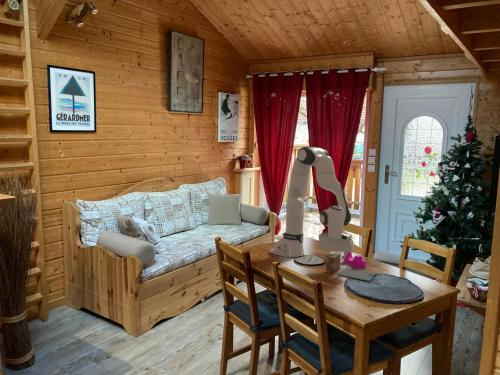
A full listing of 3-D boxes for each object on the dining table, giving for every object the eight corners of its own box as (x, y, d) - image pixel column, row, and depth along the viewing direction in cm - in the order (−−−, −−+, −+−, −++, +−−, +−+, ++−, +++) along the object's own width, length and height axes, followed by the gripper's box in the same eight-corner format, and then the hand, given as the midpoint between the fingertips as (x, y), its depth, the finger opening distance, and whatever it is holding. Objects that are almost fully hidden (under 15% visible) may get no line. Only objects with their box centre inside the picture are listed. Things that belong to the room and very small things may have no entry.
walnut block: (325, 272, 234) (326, 254, 233) (331, 268, 242) (332, 251, 240) (333, 273, 231) (334, 256, 230) (339, 269, 239) (340, 252, 238)
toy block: (365, 268, 243) (366, 256, 242) (356, 269, 241) (357, 256, 240) (352, 261, 257) (353, 249, 256) (343, 261, 255) (344, 249, 254)
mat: (337, 275, 229) (337, 273, 229) (347, 268, 242) (347, 266, 242) (369, 282, 219) (369, 280, 219) (377, 274, 232) (377, 272, 232)
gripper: (316, 233, 237) (316, 256, 238) (351, 237, 226) (351, 261, 228) (320, 231, 242) (320, 254, 244) (355, 235, 231) (354, 259, 233)
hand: (335, 258), depth 236 cm, fingers open, 8 cm apart
